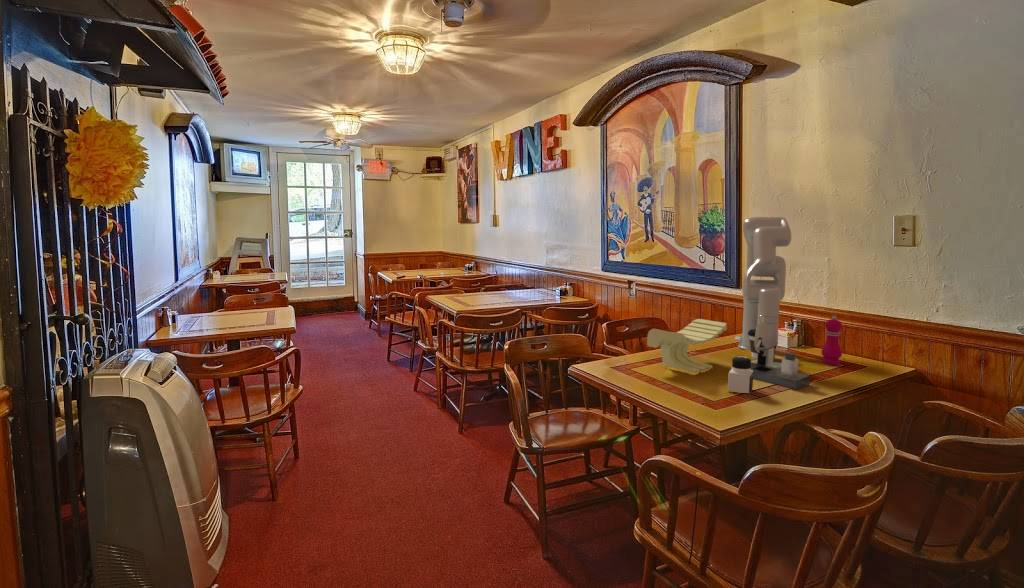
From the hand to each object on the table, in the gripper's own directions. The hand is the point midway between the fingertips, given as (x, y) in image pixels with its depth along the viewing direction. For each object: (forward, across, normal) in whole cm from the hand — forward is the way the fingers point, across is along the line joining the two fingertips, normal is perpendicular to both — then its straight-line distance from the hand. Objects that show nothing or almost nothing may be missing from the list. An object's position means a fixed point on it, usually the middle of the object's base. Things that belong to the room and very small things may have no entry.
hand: (765, 363), depth 219 cm
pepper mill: (+2, -27, +13) cm, 30 cm away
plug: (+2, 0, 0) cm, 2 cm away
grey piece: (+2, +13, +9) cm, 16 cm away
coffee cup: (+2, -12, -9) cm, 15 cm away
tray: (+2, 0, 0) cm, 2 cm away
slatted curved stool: (+2, +24, -20) cm, 31 cm away
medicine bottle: (+2, +33, +9) cm, 34 cm away
